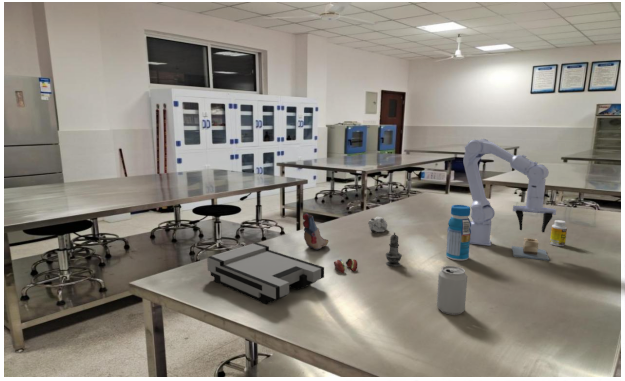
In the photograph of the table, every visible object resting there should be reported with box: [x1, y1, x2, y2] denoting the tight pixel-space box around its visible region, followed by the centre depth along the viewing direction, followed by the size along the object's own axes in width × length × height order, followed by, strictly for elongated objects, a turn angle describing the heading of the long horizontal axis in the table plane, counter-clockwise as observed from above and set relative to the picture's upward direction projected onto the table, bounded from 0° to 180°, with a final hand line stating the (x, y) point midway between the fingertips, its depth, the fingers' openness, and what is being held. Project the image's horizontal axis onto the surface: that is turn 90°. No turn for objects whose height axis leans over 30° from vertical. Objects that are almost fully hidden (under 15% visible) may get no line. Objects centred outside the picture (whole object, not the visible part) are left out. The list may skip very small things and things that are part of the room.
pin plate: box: [511, 245, 550, 262], centre depth 159 cm, size 12×12×3 cm
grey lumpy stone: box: [367, 216, 388, 233], centre depth 188 cm, size 8×9×12 cm
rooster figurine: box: [302, 212, 329, 251], centre depth 164 cm, size 9×13×15 cm
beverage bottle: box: [445, 204, 471, 262], centre depth 153 cm, size 8×8×20 cm
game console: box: [206, 242, 325, 305], centre depth 129 cm, size 21×32×8 cm, turn 49°
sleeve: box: [522, 237, 539, 255], centre depth 158 cm, size 5×5×5 cm
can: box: [436, 265, 468, 316], centre depth 111 cm, size 8×8×12 cm
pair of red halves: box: [333, 258, 358, 274], centre depth 142 cm, size 6×4×8 cm
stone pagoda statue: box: [385, 232, 403, 268], centre depth 146 cm, size 6×6×12 cm
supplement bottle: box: [549, 219, 568, 247], centre depth 170 cm, size 6×6×10 cm
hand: (531, 230), depth 157 cm, fingers open, 7 cm apart
